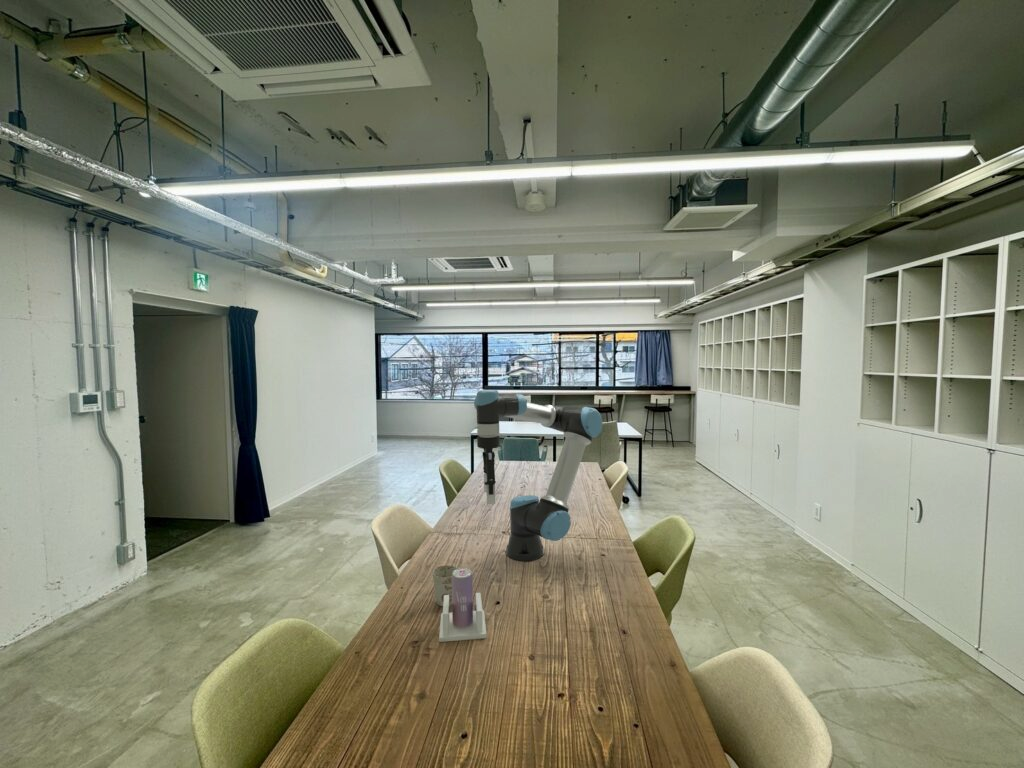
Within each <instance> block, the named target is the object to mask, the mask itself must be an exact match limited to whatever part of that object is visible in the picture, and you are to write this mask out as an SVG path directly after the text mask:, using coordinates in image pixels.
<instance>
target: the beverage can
mask: <svg viewBox="0 0 1024 768" xmlns="http://www.w3.org/2000/svg"><path fill="white" fill-rule="evenodd" d="M473 584H474V583H473V572H472V570H471V569H470V568H466V567H460V568H458V569H456V570H454V571H453V573H452V605H451V609H452V610H451V612H452V621H453V624H454V626H455V627H457V628H466V627H469V626H470V625H471V624H472V622H473V611H474V608H473V607H474V604H473V603H474V600H473V598H474V595H473V593H474V592H473V591H474V590H473V589H474V587H473Z"/></svg>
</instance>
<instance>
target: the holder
mask: <svg viewBox="0 0 1024 768" xmlns="http://www.w3.org/2000/svg"><path fill="white" fill-rule="evenodd" d="M481 593H482V592H475V604H474V610H473V622H472V624H471V625H470V626H469V627H466V628H457V627H455V626H454V624H453V621H452V611H451V606H449V595H444V603H443V606H442V613H440V625H439V634H438V635H439V636H438V641H439V642H438V643H442V642H455V641H456V642H457V641H468V640H477V639H478V640H481V639H487V626H486V618H485V615H486V614H485V609H483V605H482V603H483V602H482V594H481Z"/></svg>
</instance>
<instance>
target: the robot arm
mask: <svg viewBox="0 0 1024 768" xmlns="http://www.w3.org/2000/svg"><path fill="white" fill-rule="evenodd" d="M473 405H474V408H475V410H476V423H477V424H476V426H475V427H474V428H475V430H477V437H476V439H477V440H476V441H477V442H476V444H477V445H476V446H477V448H478V449H483V451H482V453H481V454H482V461H483V492H484V493H486V505H495V504H496V484H497V483H496V474H495V473H496V472H495V470H496V469H495V465H496V463H495V457H496V453H495V452H494V450H493V449H497V448H499V447H500V418H503V417H505V418H510V419H515V420H521V421H527V422H532V423H536V424H540V425H541V426H542V427H545V428H549V429H553V430H556V431H559V432H561V433H563V435H564V438H565V439H564V441H563V442H564V443H563V445H562V447H561V451H560V454H559V456H558V460H557V462H556V466H555V468H554V471H553V475H552V476H551V480H550V482H549V484H548V489H547V491H546V494H545V495H543V496H541V497H540V499H539V496H537V495H534V494H533V495H529V494H527V495H526V494H525V495H519V496H516V497H513V498H512V499H511V500H510V507H509V517H510V519H509V520H510V521H509V523H510V525H509V526H510V536H509V539H508V543H507V544H506V556H507V557H508V558H510V559H513V560H515V561H523V562H528V561H535V560H538V559H540V558H542V557H543V555H544V546H543V543H542V539H544V540H548V541H551V542H557V541H561V540H562V539H563V538H564V537H566V536H567V534H568V532H569V530H570V528H571V526H572V525H571V524H572V521H571V519H572V518H571V516H570V514H569V511H570V508H569V505H568V500H569V497H570V494H571V491H572V488H573V485H574V482H575V480H576V477H577V474H578V471H579V468H580V465H581V462H582V459H583V456H584V453H585V450H586V447H587V446H588V445H590V444H592V441H593V438H597V437H598V436H599V435H601V433H602V429H603V419H602V414H601V413H600V412H599V411H598V410H597V409H596V408H594V407H589V406H576V405H575V406H574V405H551V404H545V405H541V404H537V403H533V402H528V401H527V398H526V396H524V395H523V394H521V393H514V394H506V393H499V391H498V390H496V389H487V390H486V389H484V390H483V389H482V390H478V391H477V392H476V396H475V398H474V401H473ZM541 538H542V539H541Z"/></svg>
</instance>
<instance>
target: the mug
mask: <svg viewBox="0 0 1024 768" xmlns="http://www.w3.org/2000/svg"><path fill="white" fill-rule="evenodd" d="M456 569H459V568H457V566H454V565H440V566H437V567H436V568H434V569H433V570H432V579H433V581H432V582H433V587H434V594H435V601H436V604H437V605H438V606H440V607H443V603H444V595H449V607H451V606H452V573H453V571H454V570H456Z"/></svg>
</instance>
